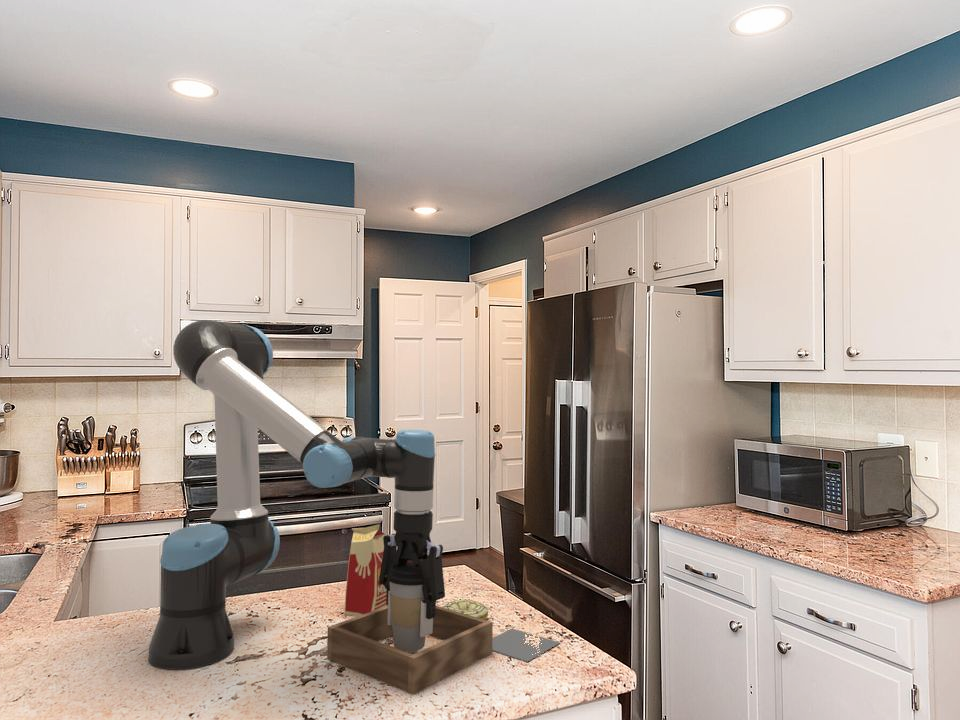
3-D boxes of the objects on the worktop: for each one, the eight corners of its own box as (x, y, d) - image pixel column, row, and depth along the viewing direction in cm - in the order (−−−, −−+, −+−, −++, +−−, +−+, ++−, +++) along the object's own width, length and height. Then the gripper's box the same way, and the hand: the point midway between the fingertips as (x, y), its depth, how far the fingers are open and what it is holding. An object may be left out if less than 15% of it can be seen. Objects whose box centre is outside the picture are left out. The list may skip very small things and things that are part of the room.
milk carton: (395, 607, 156) (397, 521, 157) (373, 620, 148) (374, 529, 148) (362, 601, 160) (364, 517, 160) (339, 613, 152) (341, 524, 152)
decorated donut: (429, 621, 148) (429, 604, 148) (465, 610, 156) (465, 594, 156) (461, 634, 141) (461, 616, 141) (497, 622, 148) (497, 605, 148)
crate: (413, 694, 113) (413, 658, 114) (326, 658, 127) (327, 627, 127) (492, 653, 131) (492, 622, 131) (409, 625, 145) (409, 597, 145)
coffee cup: (425, 658, 124) (428, 576, 124) (377, 652, 126) (379, 572, 126) (438, 639, 133) (441, 563, 133) (393, 634, 135) (396, 559, 135)
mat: (527, 662, 127) (527, 661, 127) (477, 646, 134) (477, 645, 134) (560, 643, 136) (560, 642, 136) (512, 629, 144) (512, 628, 144)
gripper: (467, 515, 126) (463, 637, 126) (389, 500, 139) (385, 611, 139) (441, 521, 121) (437, 649, 120) (362, 505, 133) (358, 620, 133)
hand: (409, 628), depth 129 cm, fingers closed on coffee cup, 8 cm apart
